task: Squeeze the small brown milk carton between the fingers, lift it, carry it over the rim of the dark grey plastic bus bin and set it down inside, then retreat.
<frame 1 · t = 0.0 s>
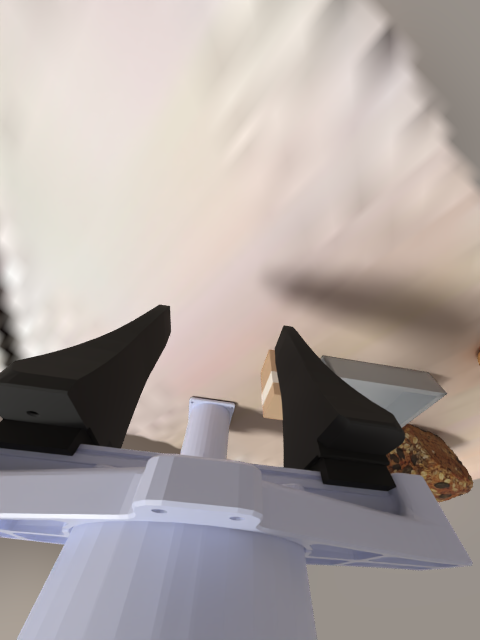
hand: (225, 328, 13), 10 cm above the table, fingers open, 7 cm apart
bin: (351, 392, 32), on the table
bread: (383, 444, 43), on the table
carton: (281, 364, 29), on the table
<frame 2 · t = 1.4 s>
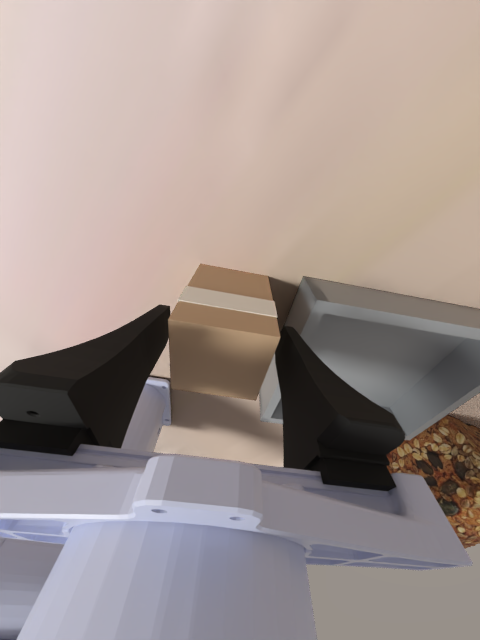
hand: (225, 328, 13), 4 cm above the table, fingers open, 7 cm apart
bin: (357, 358, 19), on the table
bread: (401, 445, 30), on the table
carton: (229, 299, 16), on the table
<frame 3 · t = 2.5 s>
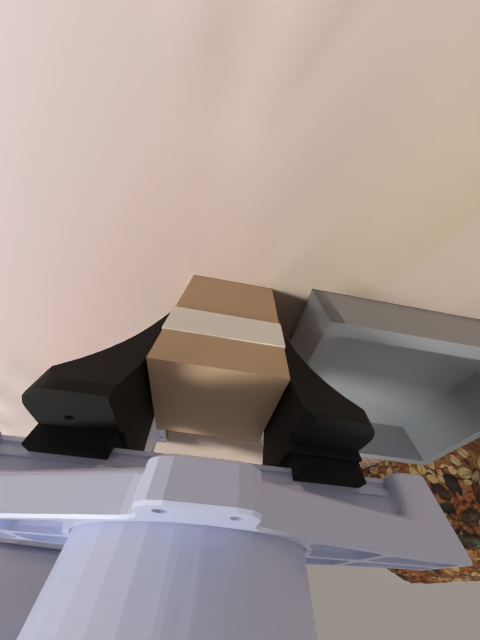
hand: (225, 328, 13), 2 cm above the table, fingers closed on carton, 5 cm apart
bin: (369, 377, 17), on the table
bread: (412, 462, 28), on the table
carton: (228, 314, 14), on the table, touching gripper
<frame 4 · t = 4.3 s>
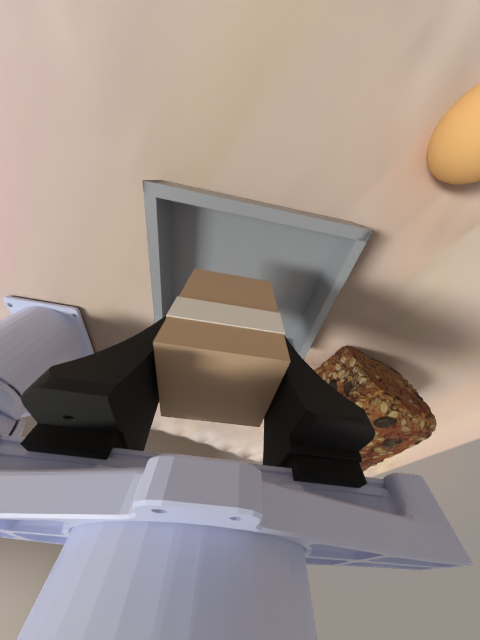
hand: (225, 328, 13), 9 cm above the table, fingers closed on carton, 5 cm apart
egg: (449, 140, 14), on the table
bin: (244, 279, 20), on the table
bread: (324, 389, 31), on the table
carton: (228, 307, 14), point 7 cm above the table, touching gripper
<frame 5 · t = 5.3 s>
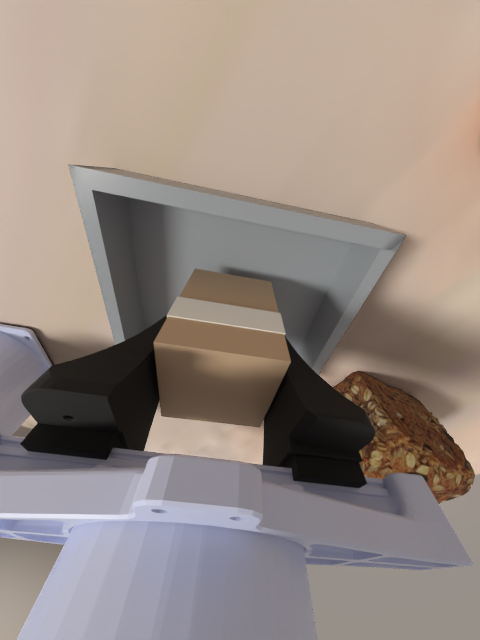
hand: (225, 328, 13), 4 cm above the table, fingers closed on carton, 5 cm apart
bin: (230, 296, 16), on the table
bread: (329, 416, 27), on the table
carton: (228, 307, 14), point 2 cm above the table, touching gripper
when the fingers open (4 cm above the table, at t = 6.2 s): carton drops 2 cm, resting on bin.
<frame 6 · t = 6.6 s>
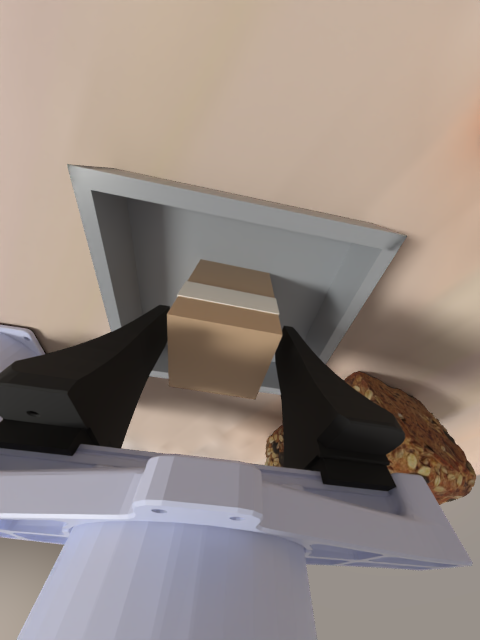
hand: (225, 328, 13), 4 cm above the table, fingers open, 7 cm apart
bin: (230, 296, 16), on the table
bread: (329, 416, 26), on the table
carton: (229, 296, 16), resting on bin
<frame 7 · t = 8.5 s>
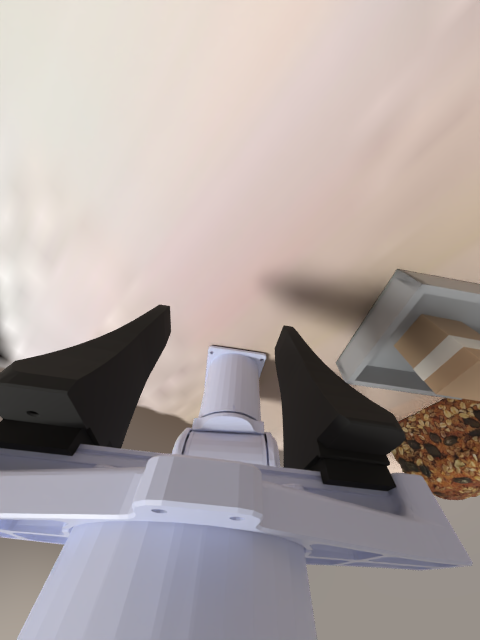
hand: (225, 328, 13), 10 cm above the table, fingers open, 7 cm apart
bin: (422, 333, 24), on the table
bread: (442, 413, 35), on the table
carton: (425, 334, 24), resting on bin
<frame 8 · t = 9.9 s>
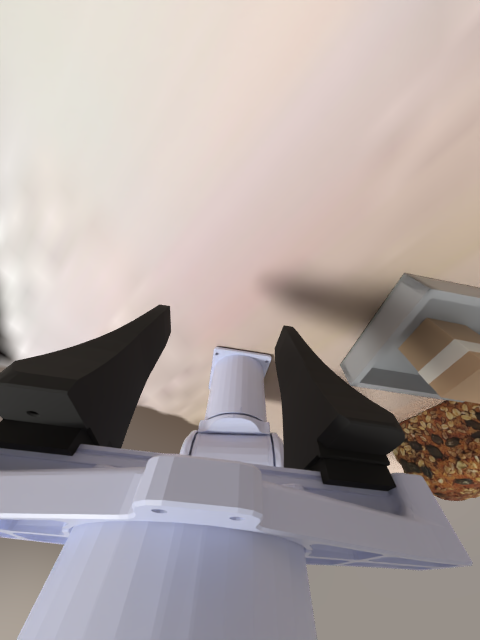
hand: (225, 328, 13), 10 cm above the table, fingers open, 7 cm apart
bin: (426, 336, 25), on the table
bread: (443, 414, 35), on the table
carton: (429, 337, 24), resting on bin
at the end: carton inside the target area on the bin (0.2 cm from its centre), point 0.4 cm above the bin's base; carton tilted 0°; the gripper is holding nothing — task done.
